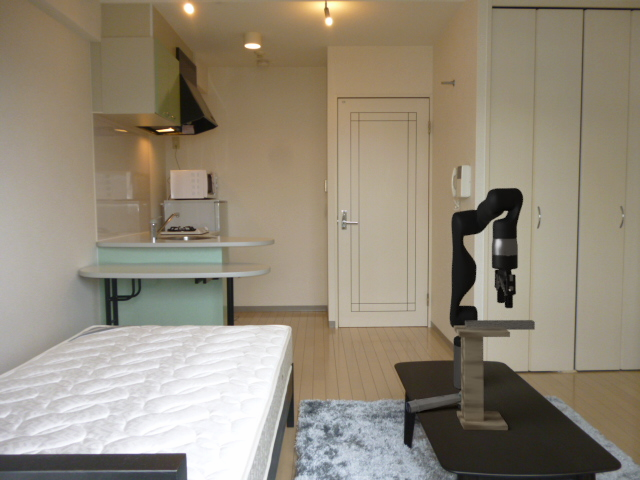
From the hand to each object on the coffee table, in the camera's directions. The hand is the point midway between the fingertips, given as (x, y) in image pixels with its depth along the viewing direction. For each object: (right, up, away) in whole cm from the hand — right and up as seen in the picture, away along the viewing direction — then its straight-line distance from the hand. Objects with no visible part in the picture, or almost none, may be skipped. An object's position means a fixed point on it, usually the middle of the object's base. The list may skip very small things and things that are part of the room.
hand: (504, 305), depth 154 cm
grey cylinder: (-13, -42, +26) cm, 51 cm away
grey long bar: (+3, -9, +12) cm, 16 cm away
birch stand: (-3, -42, +14) cm, 44 cm away
